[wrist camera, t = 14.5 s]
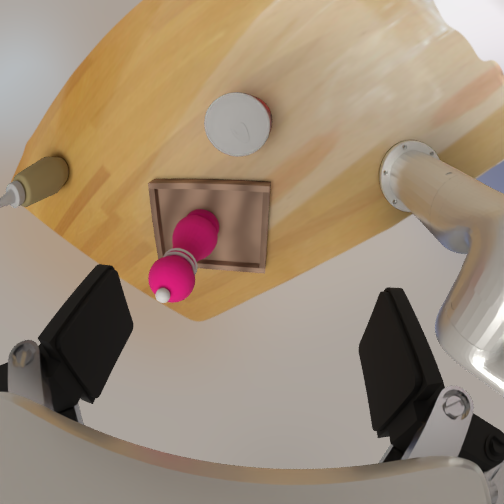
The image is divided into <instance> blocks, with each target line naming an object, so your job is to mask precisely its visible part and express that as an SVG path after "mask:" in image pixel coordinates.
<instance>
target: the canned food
mask: <svg viewBox="0 0 504 504" xmlns="http://www.w3.org/2000/svg"><path fill="white" fill-rule="evenodd" d="M204 125H205V131H206V134H207V137H208V139H209V140H210V142H211V143H212V144H213V146H214V147H216V148H217V149H218V150H219V151H221V152H223V153H225V154H228V155H231V156H245V155H249V154H252V153H254V152H256V151H257V150H258V149H260V148H261V147H262V146H263V145H264V143H265V142H266V140H267V138H268V136H269V133H270V130H271V127H272V115H271V112H270V110H269V108H268V106H267V105H266V104H265V103H264V102H263V101H262V100H260V99H259V98H257V97H254V96H252V95H249V94H246V93H239V92H235V93H228V94H225V95H223V96H221V97H219V98H217V99H216V100H215V101H214V102H213V103H212V104H211V105H210V106H209V108H208V110H207V112H206V115H205V122H204Z"/></svg>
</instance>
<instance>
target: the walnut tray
mask: <svg viewBox="0 0 504 504" xmlns="http://www.w3.org/2000/svg"><path fill="white" fill-rule="evenodd" d="M148 186H149V195H150V204H151V212H152V220H153V227H154V234H155V241H156V247H157V253H158V259H160V258H162V257H163V256H164V254H165V253H166V252H167V251H168V250H170V249H172V248H173V243H172V236H173V232H174V229H175V227H176V225H177V223H178V222H179V221H180V220H181V219H183V218H185V217H186V216H187V215H188V214H189V213H190V212H192V211H193V210H196V209H204V210H207V211H209V212H211V213H212V214H214V216H215V217H216V218H217V220H218V222H219V232H218V235H217V236H218V240H217V244H216V247H215V248H214V250H213V251H212V253H211V254H210V255H208V256H207V257H206V258H204V259H202V260H199V261H198V262H197V268H205V269H216V270H228V271H241V272H254V273H265V266H266V250H267V234H268V217H269V200H270V182H264V181H245V180H219V179H154V180H152V181H151V182H149V183H148Z"/></svg>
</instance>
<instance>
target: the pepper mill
mask: <svg viewBox="0 0 504 504" xmlns="http://www.w3.org/2000/svg"><path fill="white" fill-rule="evenodd" d="M218 232H219V222H218V220H217V218H216V217H215V216H214V214H212V213H211V212H209V211H207V210H204V209H196V210H193V211H192V212H190V213H189V214H188V215H187V216H186V217H185V218H183V219H181V220H180V221H179V222H178V223H177V225H176V227H175V229H174V232H173V236H172V243H173V248H172V249H170V250H168V251H167V252H166V253H165V254H164V256H163V257H162V258H160V259H158V260H157V261H156V262H155V263H154V264H153V266H152V267H151V269H150V272H149V278H148V279H149V285H150V288H151V290H152V291H153V293H154V294H155V295H156V299H157V300H158V301H159V302H161V303H165V302H179V301H182V300H184V299H185V298H186V297H188V296H189V295H190V293H191V292H192V290H193V288H194V285H195V274H196V272H197V262H198V261H199V260H202V259H204V258H206V257H207V256H208V255H210V254H211V253H212V251H213V250H214V248H215V247H216V244H217V240H218V236H217V235H218Z"/></svg>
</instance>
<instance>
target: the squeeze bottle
mask: <svg viewBox="0 0 504 504" xmlns="http://www.w3.org/2000/svg"><path fill="white" fill-rule="evenodd" d="M68 175H69V170H68V166H67V163H66V162H65V161H64V159H62V158H60V157H44V158H42V159H41V160H39V161H37V162H36V163H34V164H32V165H31V166H29V167H27V168H26V169H24V170H23V171H21V172H20V173H18V174H17V175H16V176H15V177H14V180H13V182H11V183H9V184H8V185H7V188H6V193H5V195H3V196H2V197H1V198H0V207H3V206H7V205H11V206H12V207H14V208H17V207H18V206H20V205H22V206H24V207H27V206H29V205H31V204H34V203H36V202H38V201H40V200H42V199H44V198H47V197H49V196H51V195H53V194H55V193H57V192H58V191H59V190H60V188H61V187H62V186H63V185H64V183H65V182H66V180H67V179H68Z"/></svg>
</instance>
